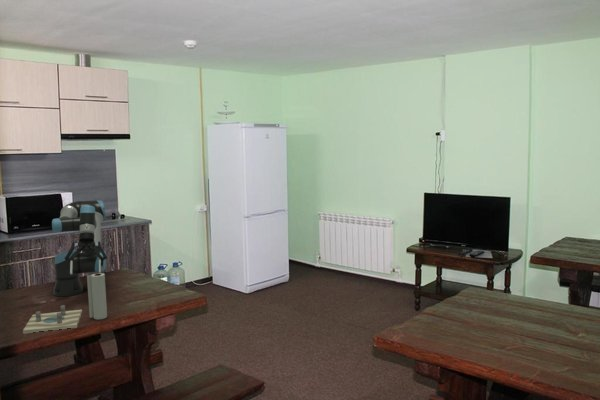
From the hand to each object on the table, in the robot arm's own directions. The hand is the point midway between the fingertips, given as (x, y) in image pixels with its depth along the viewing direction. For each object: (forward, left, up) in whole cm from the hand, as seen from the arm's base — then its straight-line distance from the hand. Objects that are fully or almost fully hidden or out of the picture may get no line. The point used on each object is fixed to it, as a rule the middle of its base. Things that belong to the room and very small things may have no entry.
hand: (85, 273), depth 260 cm
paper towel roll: (+21, +7, -17) cm, 29 cm away
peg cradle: (+21, -13, -17) cm, 30 cm away
